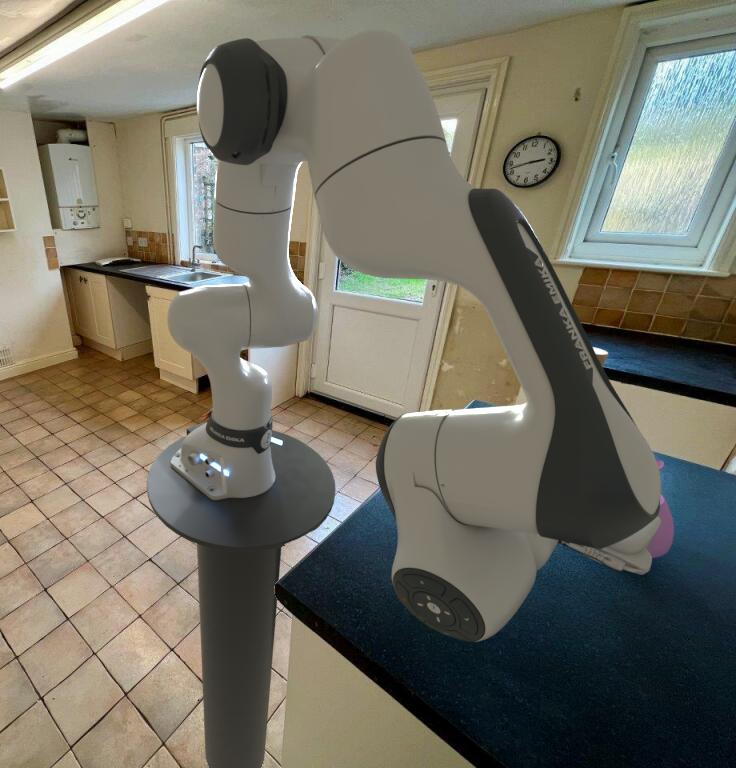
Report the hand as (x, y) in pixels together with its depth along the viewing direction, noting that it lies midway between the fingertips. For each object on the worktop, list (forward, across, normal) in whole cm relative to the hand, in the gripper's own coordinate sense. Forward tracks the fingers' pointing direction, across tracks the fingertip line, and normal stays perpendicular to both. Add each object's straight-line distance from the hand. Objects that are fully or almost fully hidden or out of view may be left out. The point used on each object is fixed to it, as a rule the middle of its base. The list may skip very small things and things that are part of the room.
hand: (548, 461), depth 50 cm
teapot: (+27, -8, +24) cm, 37 cm away
